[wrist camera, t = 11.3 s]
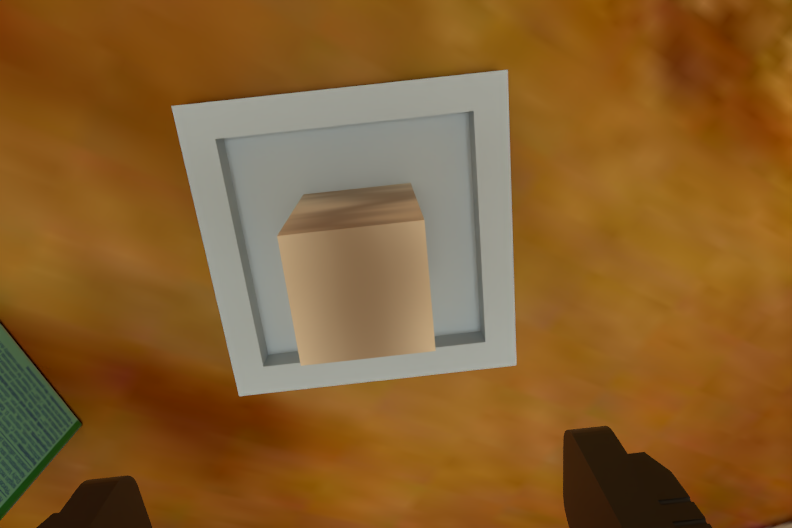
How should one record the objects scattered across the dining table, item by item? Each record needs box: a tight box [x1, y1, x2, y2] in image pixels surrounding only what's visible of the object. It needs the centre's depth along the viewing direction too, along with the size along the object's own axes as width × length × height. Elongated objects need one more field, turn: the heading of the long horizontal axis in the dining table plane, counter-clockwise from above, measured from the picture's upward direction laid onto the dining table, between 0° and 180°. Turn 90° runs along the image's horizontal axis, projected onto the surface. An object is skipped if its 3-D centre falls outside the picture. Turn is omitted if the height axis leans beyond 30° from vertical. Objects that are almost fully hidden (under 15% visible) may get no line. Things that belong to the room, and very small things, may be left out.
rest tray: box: [171, 70, 517, 396], centre depth 25 cm, size 14×14×2 cm
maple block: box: [277, 183, 436, 366], centre depth 22 cm, size 5×5×7 cm
